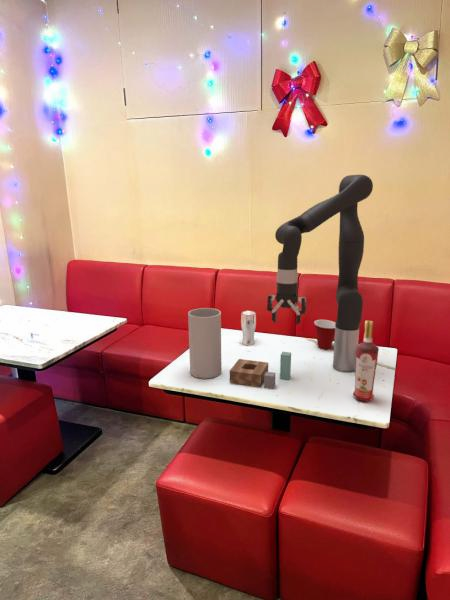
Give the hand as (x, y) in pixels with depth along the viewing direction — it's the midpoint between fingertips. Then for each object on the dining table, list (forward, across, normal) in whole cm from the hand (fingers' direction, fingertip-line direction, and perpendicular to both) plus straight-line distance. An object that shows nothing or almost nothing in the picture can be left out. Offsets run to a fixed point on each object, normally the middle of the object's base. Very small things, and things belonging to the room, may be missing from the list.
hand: (286, 323), depth 160 cm
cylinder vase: (+22, +31, +6) cm, 38 cm away
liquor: (+22, -29, +8) cm, 38 cm away
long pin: (+22, 0, 0) cm, 22 cm away
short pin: (+22, +4, +10) cm, 24 cm away
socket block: (+22, +13, +6) cm, 26 cm away
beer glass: (+22, +24, -31) cm, 45 cm away
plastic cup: (+22, -10, -37) cm, 44 cm away
